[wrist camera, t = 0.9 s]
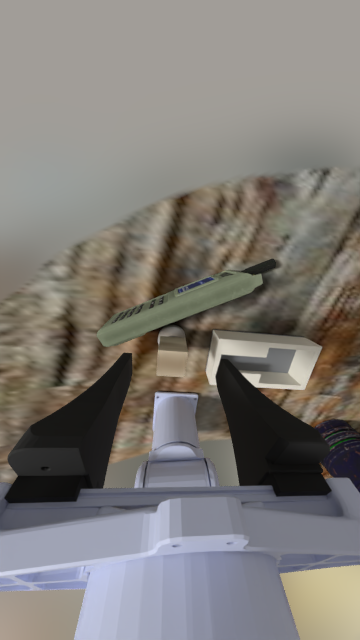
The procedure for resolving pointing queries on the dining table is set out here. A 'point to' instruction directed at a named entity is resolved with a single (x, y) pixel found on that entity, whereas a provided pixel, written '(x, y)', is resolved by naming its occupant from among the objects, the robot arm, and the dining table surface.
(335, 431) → the storage jar
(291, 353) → the white hollow rectangular frame
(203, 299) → the handheld radio
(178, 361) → the keyhole peg
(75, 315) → the dining table surface
